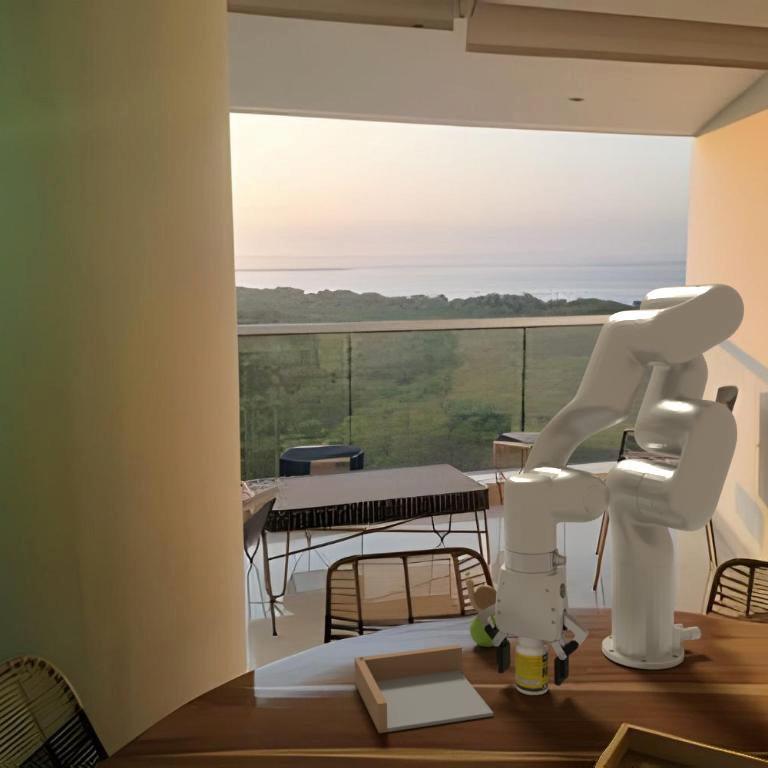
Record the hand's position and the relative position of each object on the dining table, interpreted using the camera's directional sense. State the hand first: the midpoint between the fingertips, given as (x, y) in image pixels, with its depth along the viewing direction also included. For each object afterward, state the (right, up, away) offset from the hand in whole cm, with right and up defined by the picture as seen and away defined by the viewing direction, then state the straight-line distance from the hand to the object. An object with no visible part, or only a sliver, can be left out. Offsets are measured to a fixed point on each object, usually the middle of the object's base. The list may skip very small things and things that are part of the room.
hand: (531, 675), depth 116 cm
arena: (-16, -3, -3) cm, 17 cm away
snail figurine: (-5, -1, +16) cm, 17 cm away
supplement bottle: (0, -2, 0) cm, 2 cm away
